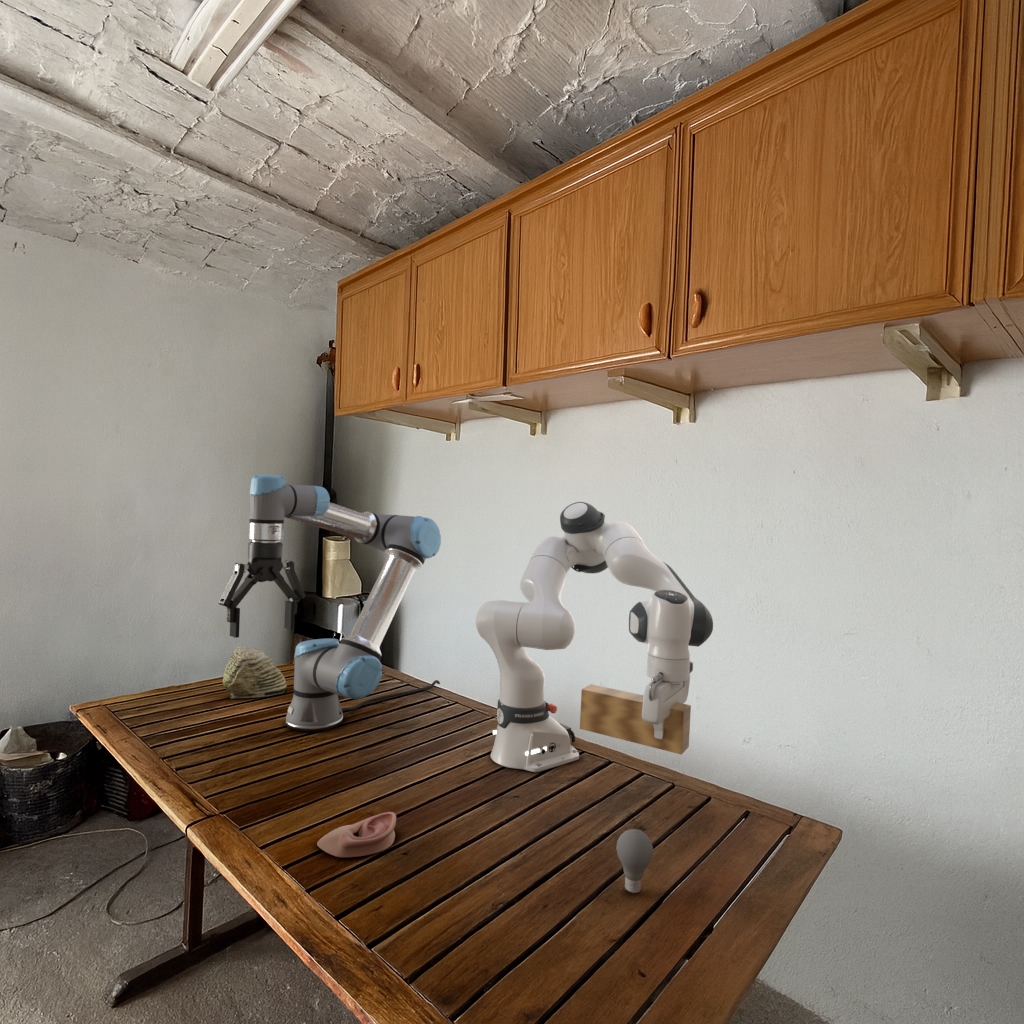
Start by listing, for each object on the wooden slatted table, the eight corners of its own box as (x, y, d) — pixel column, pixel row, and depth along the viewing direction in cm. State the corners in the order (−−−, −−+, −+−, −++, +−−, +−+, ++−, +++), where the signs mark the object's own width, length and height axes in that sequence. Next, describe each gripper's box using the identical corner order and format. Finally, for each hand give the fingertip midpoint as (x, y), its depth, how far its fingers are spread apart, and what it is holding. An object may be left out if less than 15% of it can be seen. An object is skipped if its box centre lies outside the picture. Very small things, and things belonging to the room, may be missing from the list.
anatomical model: (309, 830, 112) (339, 800, 124) (308, 852, 113) (338, 821, 124) (379, 841, 110) (403, 810, 121) (378, 864, 110) (402, 831, 121)
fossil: (218, 695, 195) (220, 647, 195) (278, 685, 208) (279, 640, 207) (228, 703, 189) (230, 653, 188) (289, 692, 201) (290, 645, 201)
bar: (579, 728, 142) (581, 689, 142) (589, 722, 146) (591, 684, 146) (681, 754, 130) (683, 711, 130) (688, 747, 134) (691, 705, 134)
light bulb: (610, 879, 108) (613, 822, 108) (644, 879, 109) (647, 822, 109) (619, 902, 102) (622, 840, 102) (655, 901, 103) (658, 840, 103)
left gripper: (221, 544, 135) (217, 643, 135) (321, 541, 154) (318, 628, 155) (204, 541, 139) (200, 637, 140) (304, 539, 159) (300, 623, 159)
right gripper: (666, 682, 124) (663, 752, 124) (695, 661, 141) (692, 723, 141) (635, 676, 127) (632, 744, 127) (667, 657, 145) (664, 717, 145)
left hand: (262, 632), depth 147 cm, fingers open, 13 cm apart
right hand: (664, 733), depth 135 cm, fingers closed on bar, 5 cm apart
